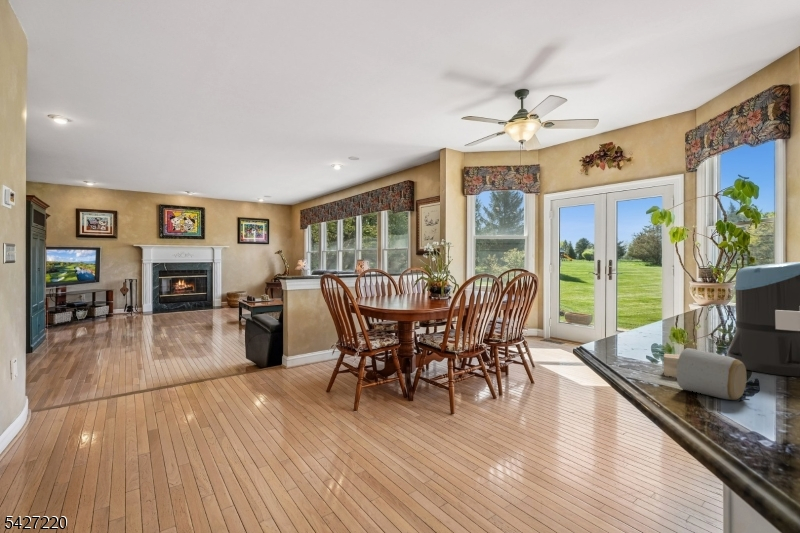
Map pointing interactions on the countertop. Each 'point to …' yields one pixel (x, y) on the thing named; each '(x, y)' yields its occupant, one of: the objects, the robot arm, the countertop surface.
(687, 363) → the ceramic mug
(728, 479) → the countertop surface
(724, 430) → the countertop surface
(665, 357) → the birch block
